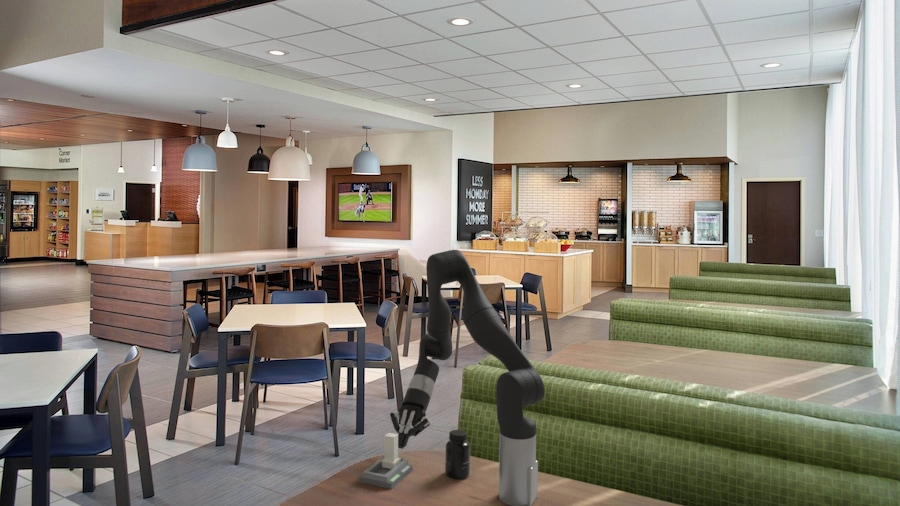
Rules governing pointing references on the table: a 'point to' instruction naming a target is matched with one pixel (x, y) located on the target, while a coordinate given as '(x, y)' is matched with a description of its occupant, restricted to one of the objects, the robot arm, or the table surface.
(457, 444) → the supplement bottle
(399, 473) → the grey slotted stand
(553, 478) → the table surface
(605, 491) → the table surface
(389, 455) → the block
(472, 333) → the robot arm
